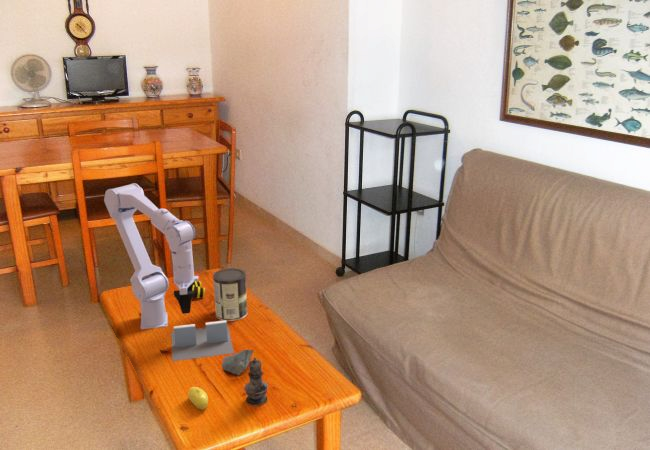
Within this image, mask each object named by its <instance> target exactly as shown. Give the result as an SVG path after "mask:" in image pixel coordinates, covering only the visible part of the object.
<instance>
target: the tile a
mask: <svg viewBox="0 0 650 450" xmlns="http://www.w3.org/2000/svg"><path fill="white" fill-rule="evenodd" d="M195 329H196V324H195V323H191V324H184V325H176V326H175V325H174V326H173V332H174V337H175V348H177V347H185V346H193V345H197V343H196V330H195Z"/></svg>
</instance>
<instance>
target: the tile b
mask: <svg viewBox="0 0 650 450" xmlns="http://www.w3.org/2000/svg"><path fill="white" fill-rule="evenodd" d="M227 325H228V321H226V320H218V321H217V320H215V321H208V322H205V328H206V338H207V344H209V343H216V342H224V341H228V335H227Z"/></svg>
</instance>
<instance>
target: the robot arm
mask: <svg viewBox="0 0 650 450" xmlns="http://www.w3.org/2000/svg"><path fill="white" fill-rule="evenodd" d="M103 198H104V199H103V201H104V202H103V203H104V204H105V207H106V209H107V212H108V214H109V216H110V218H111V219H113V220H114V223H115V226H116V228H117V230H118V232H119V235H120V238H121V240H122V242H123V244H124V247H125V249H126V252H127V254H128V256H129V259H130V261H131V264H132V266H133V268H134V272H133V274H132V276H131V277H130V280H129V281H130V283H131V287H132V288H131V290H132V294H133V296H134V297H135V298H136V299H137V300H138V301H139V305H140V314H141V318H140V329H141V330H147V329H157V328H166V327H168V326H169V325H168V324H169V322H168V312H166V304H165V296H166V294H167V291H168V290H169V287H170V285H169V284H170V283H169V282H170V281H169V279H168V277H167V276H166V275H165V273H164V272H163V270H162V268H161V267H160V266H157V265H155V264H153V263H152V261H151V258H150V256H149V254H148V252H147V249H146V247H145V244H144V242H143V239H142V237H141V234H140V233H139V229H138V228H137V225H136V222H135V221H134V218H133V216H134V214H135V213H136V212H137V211H139V212H141V213H142V214H143V215H145V216H146V217H148V218H149V219H150V223H151V225H152V226H154V227H155V228H156V229H157V230H158V231H159V232H161V233H162V234H163V235H164V236H165V239H166V242H167V244H168V247H169V250H170V252H171V260H172V271H173V272H172V273H173V280H172V281H173V283H174V285H175V286H176V287H177V288H178V290H174V291H173V296H174V298H175V299H176V301H177V302H178V304H179V309H180V311H181V314H183V315H184V314H190V313H191V308H192V300H193V299H192V297H193V295H194V290H193V291H192V288H193V284H194V282H195V281H200V280H199V277H200V276H199V275H195V268H194V258H193V245H192V241H193V240H194V239H195V237H196V229H195V227H194V226H193V224H192V223H191V222H190V221H188V220H182V219H181V220H180V219H179V218H177V217H176V216H175V215H174V214H173V213H171V212H170V211H169V210H168V209H166V208H159V207H157V206H156V205H155V204H154V203H153V202H152V201H151V200H150V199H149V198H148V197H147V196H146V195H145V192H144V190H143V188H142V187H141V186H140V185H139V184H137V183H136V182H135V183H134V182H133V183H130V184H127V185H122V186H119V187H115V188H108V189H107V190H105V194H104V197H103Z"/></svg>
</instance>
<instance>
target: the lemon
mask: <svg viewBox="0 0 650 450" xmlns="http://www.w3.org/2000/svg"><path fill="white" fill-rule="evenodd" d="M188 398H189V401H190V403H192V404H193V405H194V406H195V407H196V408H197V409H198V410H205V409H207V406H208V405H209V396H208V394H207V392H205V390H203V389H202V388H200V387H197V386H192V387H190V389H189V390H188Z"/></svg>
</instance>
